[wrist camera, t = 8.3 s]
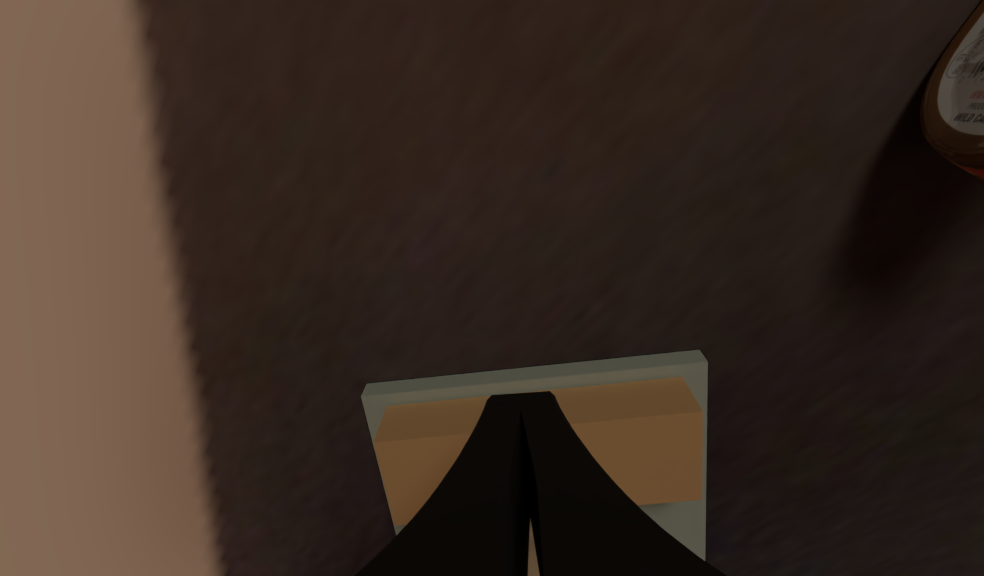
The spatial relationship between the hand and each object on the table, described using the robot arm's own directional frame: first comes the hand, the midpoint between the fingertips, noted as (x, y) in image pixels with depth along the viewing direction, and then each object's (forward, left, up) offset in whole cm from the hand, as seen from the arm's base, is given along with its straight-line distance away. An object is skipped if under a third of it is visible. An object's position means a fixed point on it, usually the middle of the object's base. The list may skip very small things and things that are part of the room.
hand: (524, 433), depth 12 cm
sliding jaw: (-7, 0, -9) cm, 12 cm away
